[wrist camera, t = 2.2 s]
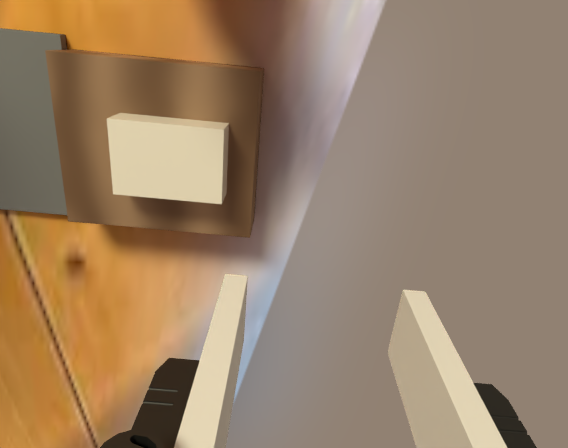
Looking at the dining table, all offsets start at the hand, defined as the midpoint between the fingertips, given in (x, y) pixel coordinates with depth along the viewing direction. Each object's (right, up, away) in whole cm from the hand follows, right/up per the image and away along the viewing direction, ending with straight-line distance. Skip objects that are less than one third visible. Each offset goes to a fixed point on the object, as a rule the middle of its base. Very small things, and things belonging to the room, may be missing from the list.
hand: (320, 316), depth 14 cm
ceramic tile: (-10, +8, +17) cm, 21 cm away
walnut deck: (-11, +10, +21) cm, 26 cm away
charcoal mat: (-25, +12, +20) cm, 35 cm away
